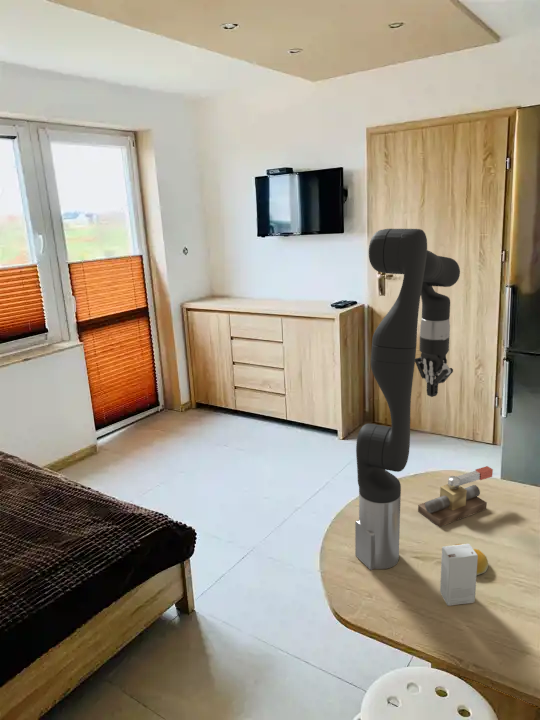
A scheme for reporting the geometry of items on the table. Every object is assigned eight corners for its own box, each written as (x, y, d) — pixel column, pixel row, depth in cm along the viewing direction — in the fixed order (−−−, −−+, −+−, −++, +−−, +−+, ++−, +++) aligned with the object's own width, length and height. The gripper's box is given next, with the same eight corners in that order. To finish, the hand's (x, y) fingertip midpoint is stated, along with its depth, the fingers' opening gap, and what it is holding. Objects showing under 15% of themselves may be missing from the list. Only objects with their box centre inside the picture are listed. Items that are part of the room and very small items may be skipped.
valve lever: (452, 490, 144) (453, 482, 144) (445, 485, 147) (446, 477, 146) (493, 477, 149) (493, 470, 149) (485, 473, 152) (486, 465, 151)
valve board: (439, 527, 142) (440, 502, 140) (418, 511, 149) (418, 488, 146) (486, 509, 148) (488, 485, 146) (464, 494, 155) (465, 472, 153)
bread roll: (480, 582, 123) (482, 567, 121) (441, 567, 128) (441, 552, 127) (493, 562, 129) (494, 547, 127) (454, 548, 134) (455, 533, 133)
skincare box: (466, 589, 120) (469, 541, 117) (475, 604, 116) (479, 555, 112) (438, 592, 120) (441, 544, 116) (446, 607, 116) (449, 558, 112)
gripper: (407, 331, 152) (405, 390, 158) (441, 342, 141) (438, 406, 146) (428, 327, 155) (426, 385, 161) (463, 338, 144) (460, 400, 149)
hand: (431, 395), depth 154 cm, fingers closed
